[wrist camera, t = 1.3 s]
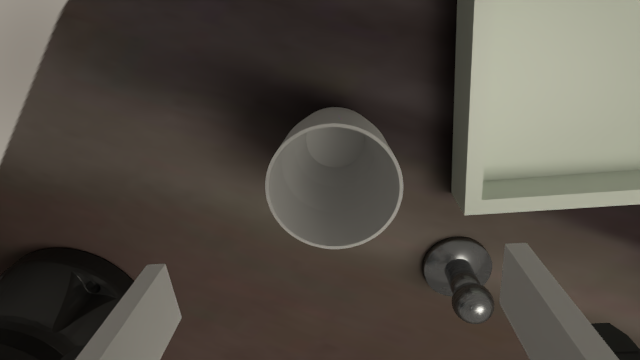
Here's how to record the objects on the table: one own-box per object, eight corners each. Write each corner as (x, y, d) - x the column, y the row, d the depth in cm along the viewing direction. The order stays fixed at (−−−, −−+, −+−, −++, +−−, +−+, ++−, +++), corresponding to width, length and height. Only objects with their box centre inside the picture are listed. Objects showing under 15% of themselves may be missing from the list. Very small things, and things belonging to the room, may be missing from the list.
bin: (451, 192, 34) (464, 215, 30) (459, -68, 26) (478, -80, 23) (692, 176, 32) (737, 197, 28) (774, -107, 25) (850, -127, 21)
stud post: (422, 292, 38) (438, 347, 32) (422, 238, 36) (439, 287, 30) (486, 289, 38) (515, 344, 31) (491, 234, 35) (523, 283, 29)
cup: (266, 138, 33) (237, 188, 24) (337, 67, 30) (335, 92, 21) (334, 201, 35) (332, 271, 26) (406, 140, 32) (432, 192, 23)
